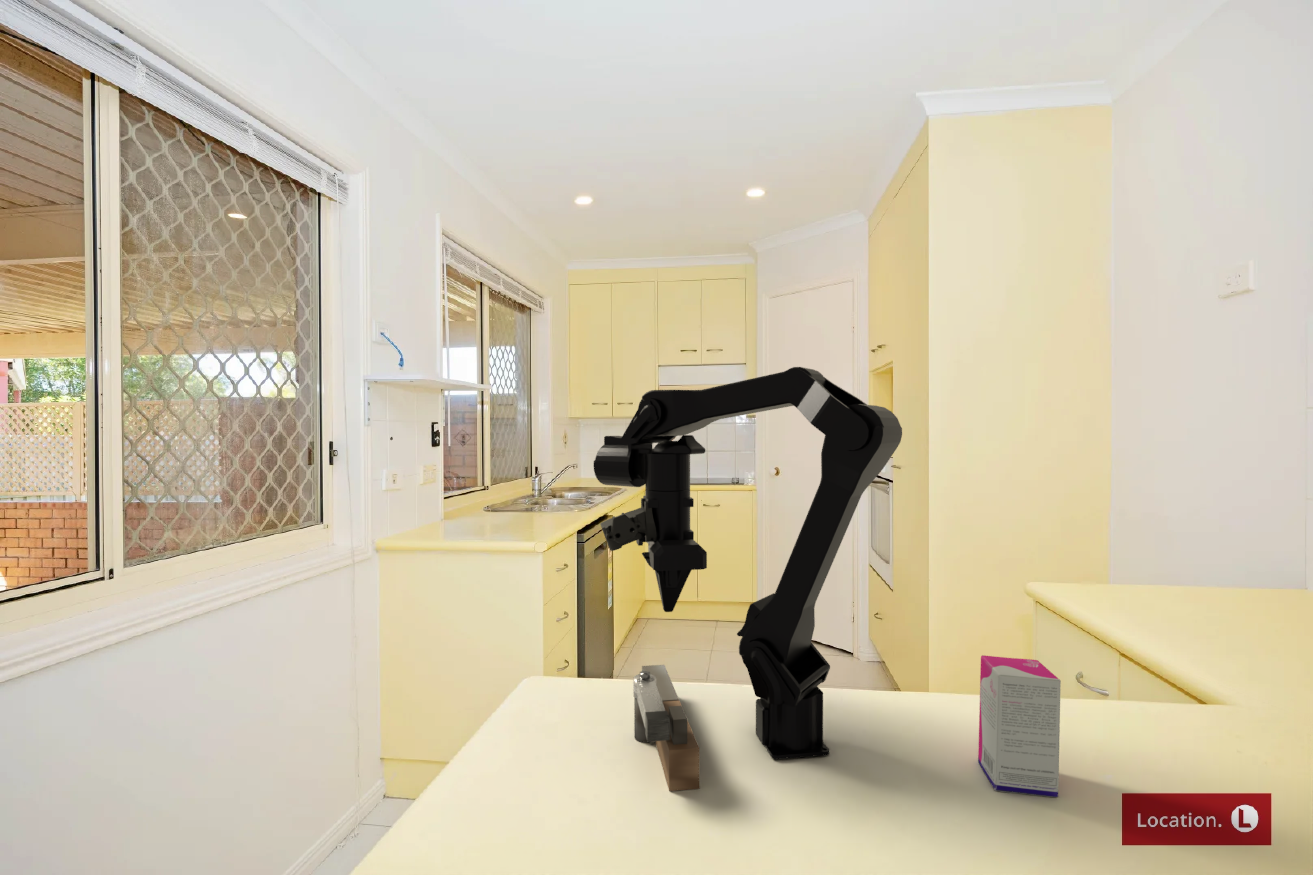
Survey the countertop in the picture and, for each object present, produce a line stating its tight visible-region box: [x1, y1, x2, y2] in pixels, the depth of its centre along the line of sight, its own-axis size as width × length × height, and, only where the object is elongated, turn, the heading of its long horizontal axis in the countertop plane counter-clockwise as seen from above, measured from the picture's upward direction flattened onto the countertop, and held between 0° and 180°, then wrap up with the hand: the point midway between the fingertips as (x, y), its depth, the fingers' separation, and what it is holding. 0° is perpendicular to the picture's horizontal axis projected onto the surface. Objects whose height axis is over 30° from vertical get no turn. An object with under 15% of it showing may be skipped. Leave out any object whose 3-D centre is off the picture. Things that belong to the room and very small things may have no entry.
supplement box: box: [977, 654, 1062, 798], centre depth 63 cm, size 6×6×12 cm
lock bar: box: [632, 670, 670, 743], centre depth 67 cm, size 12×3×3 cm, turn 8°
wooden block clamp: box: [633, 664, 700, 792], centre depth 72 cm, size 5×22×6 cm, turn 8°
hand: (668, 611), depth 80 cm, fingers closed
